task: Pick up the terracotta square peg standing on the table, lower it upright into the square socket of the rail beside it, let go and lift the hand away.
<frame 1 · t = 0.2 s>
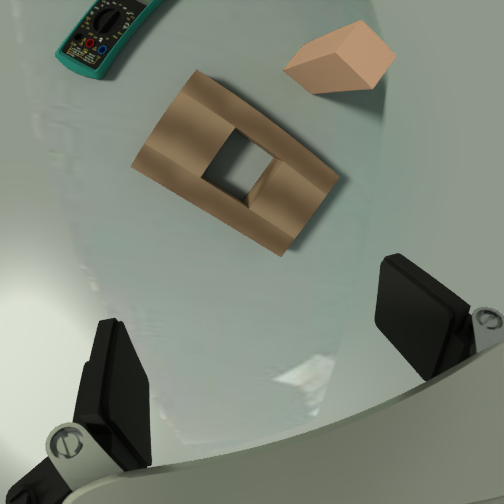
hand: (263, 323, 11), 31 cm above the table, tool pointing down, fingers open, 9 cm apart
square peg: (307, 69, 36), on the table
slot rail: (236, 164, 39), on the table
digital multimeter: (113, 23, 28), on the table
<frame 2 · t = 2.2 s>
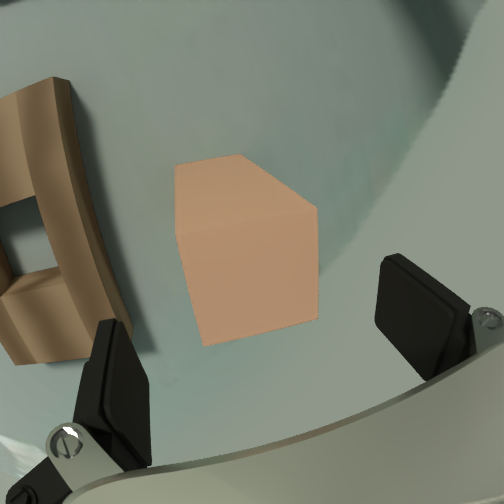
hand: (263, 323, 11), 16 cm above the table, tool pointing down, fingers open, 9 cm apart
square peg: (212, 190, 24), on the table
slot rail: (30, 233, 22), on the table
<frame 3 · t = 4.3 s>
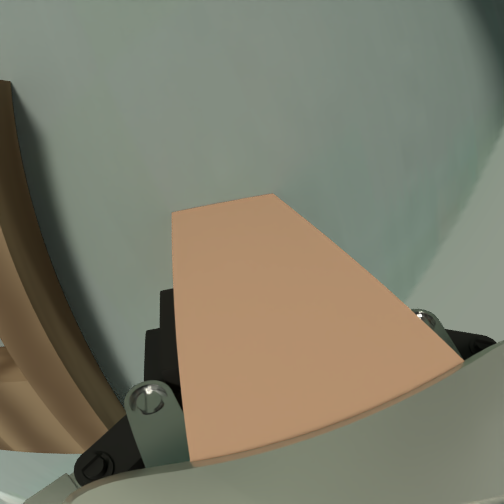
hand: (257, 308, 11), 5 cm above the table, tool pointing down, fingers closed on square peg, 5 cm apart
square peg: (230, 249, 16), on the table, touching gripper
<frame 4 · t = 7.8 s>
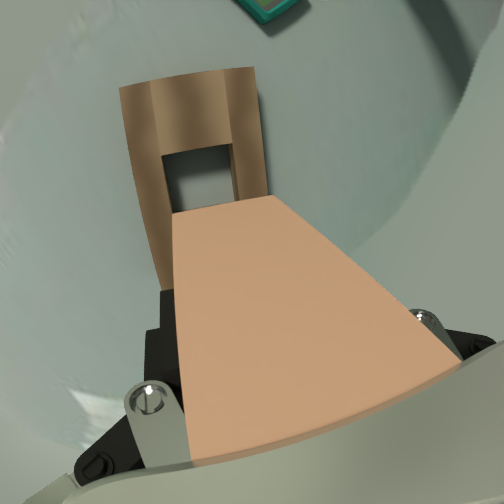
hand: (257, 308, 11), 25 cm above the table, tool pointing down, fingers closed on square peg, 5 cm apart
square peg: (230, 250, 16), point 20 cm above the table, touching gripper
slot rail: (199, 176, 34), on the table
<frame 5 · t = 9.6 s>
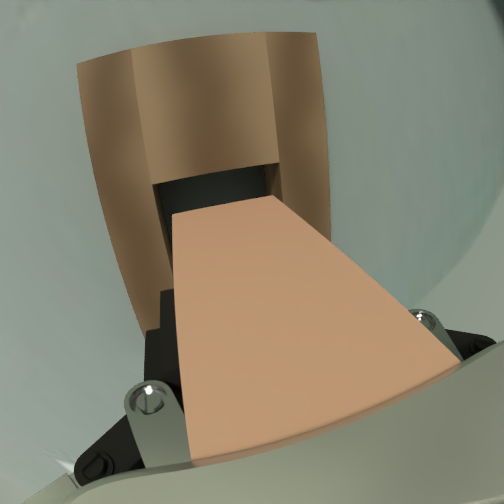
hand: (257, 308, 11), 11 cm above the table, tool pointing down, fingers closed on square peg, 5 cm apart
square peg: (230, 250, 16), point 6 cm above the table, touching gripper
slot rail: (217, 214, 21), on the table
when the fingers open (6 cm above the table, at t = 11.3 s): square peg stays where it is, resting in slot rail.
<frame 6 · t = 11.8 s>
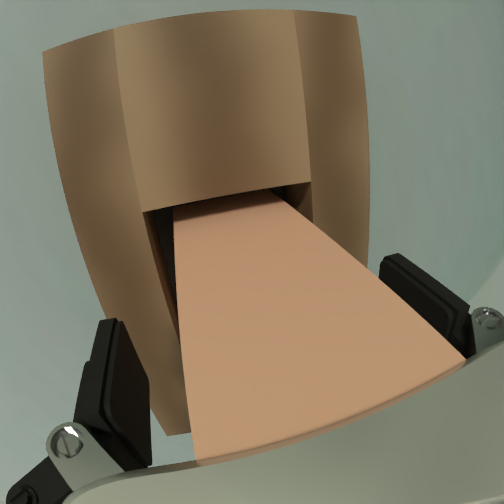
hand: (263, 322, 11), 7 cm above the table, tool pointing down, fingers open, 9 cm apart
square peg: (228, 242, 17), resting in slot rail
slot rail: (227, 242, 17), on the table
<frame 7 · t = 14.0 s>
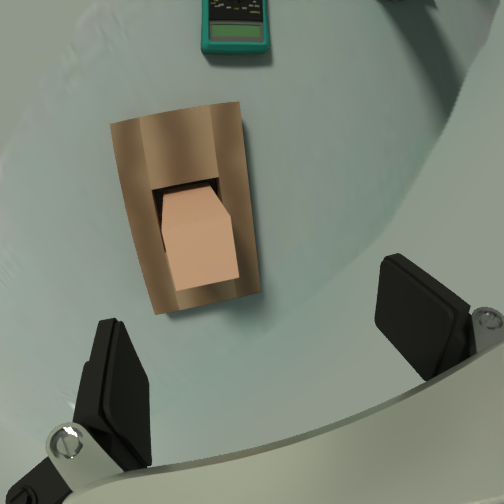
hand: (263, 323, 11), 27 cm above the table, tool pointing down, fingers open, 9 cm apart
square peg: (189, 207, 36), resting in slot rail
slot rail: (188, 207, 36), on the table
digital multimeter: (231, 2, 28), on the table
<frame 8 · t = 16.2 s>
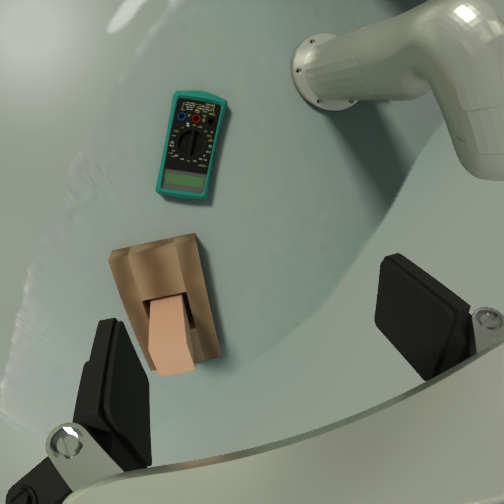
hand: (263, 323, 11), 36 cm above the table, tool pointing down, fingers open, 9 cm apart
square peg: (169, 302, 50), resting in slot rail
slot rail: (169, 303, 50), on the table
digital multimeter: (189, 144, 42), on the table
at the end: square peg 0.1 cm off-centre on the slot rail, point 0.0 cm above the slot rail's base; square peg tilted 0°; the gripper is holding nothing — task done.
